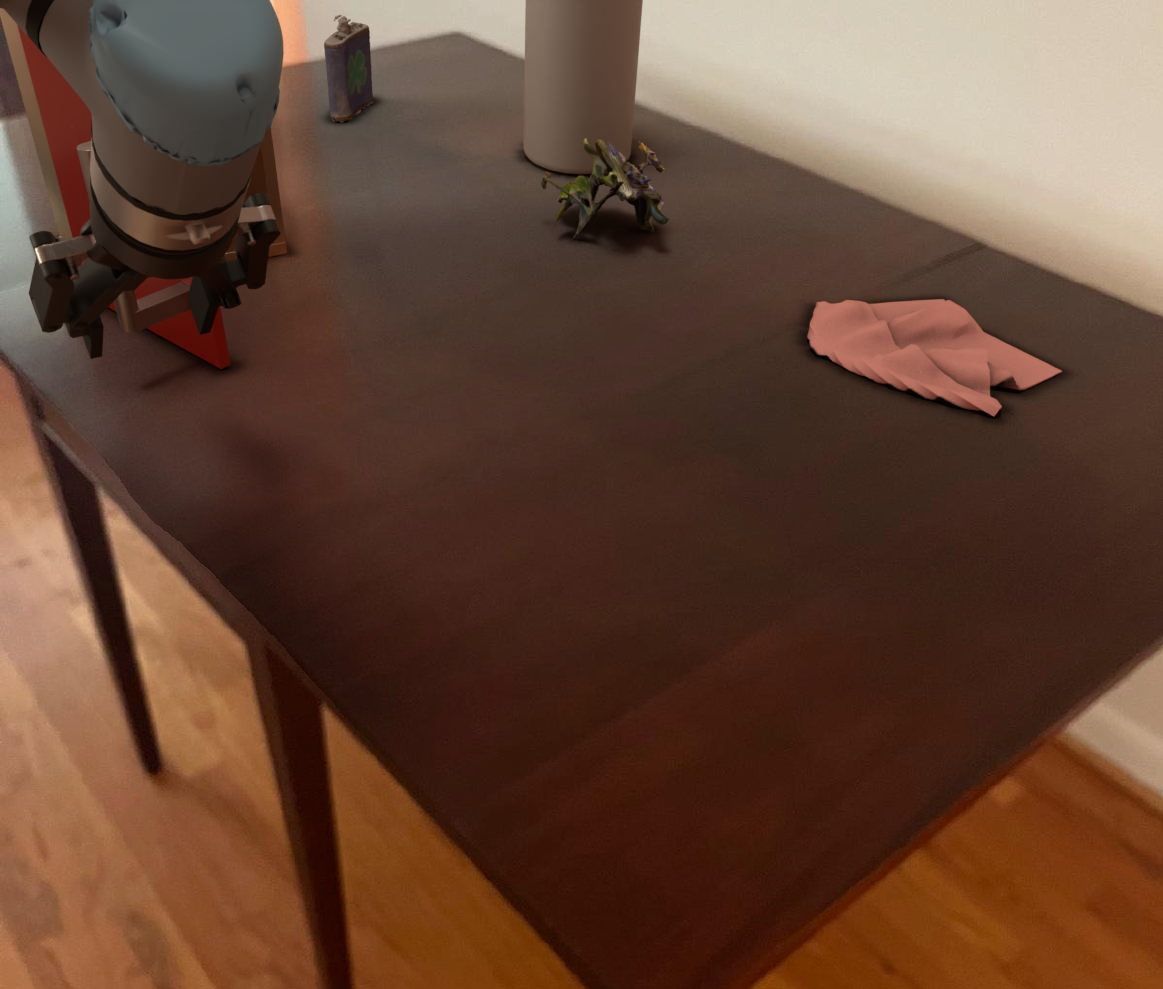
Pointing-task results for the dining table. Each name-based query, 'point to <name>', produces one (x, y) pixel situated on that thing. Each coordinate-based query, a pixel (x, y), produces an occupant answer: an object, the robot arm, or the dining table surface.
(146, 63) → the robot arm
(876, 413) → the dining table surface
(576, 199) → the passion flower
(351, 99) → the flask
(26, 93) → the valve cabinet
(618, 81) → the cylinder vase
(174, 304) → the valve door
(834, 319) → the cloth
